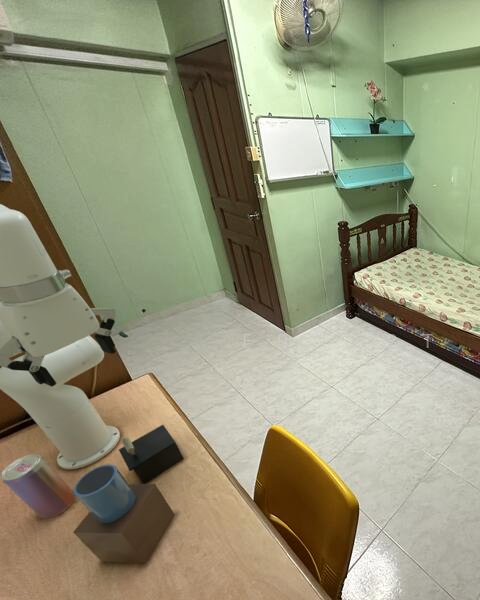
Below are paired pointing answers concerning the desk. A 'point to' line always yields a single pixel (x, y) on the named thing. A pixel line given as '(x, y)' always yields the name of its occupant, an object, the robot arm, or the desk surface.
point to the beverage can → (38, 485)
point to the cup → (105, 493)
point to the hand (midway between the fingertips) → (81, 366)
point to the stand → (129, 528)
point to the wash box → (158, 464)
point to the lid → (145, 447)
